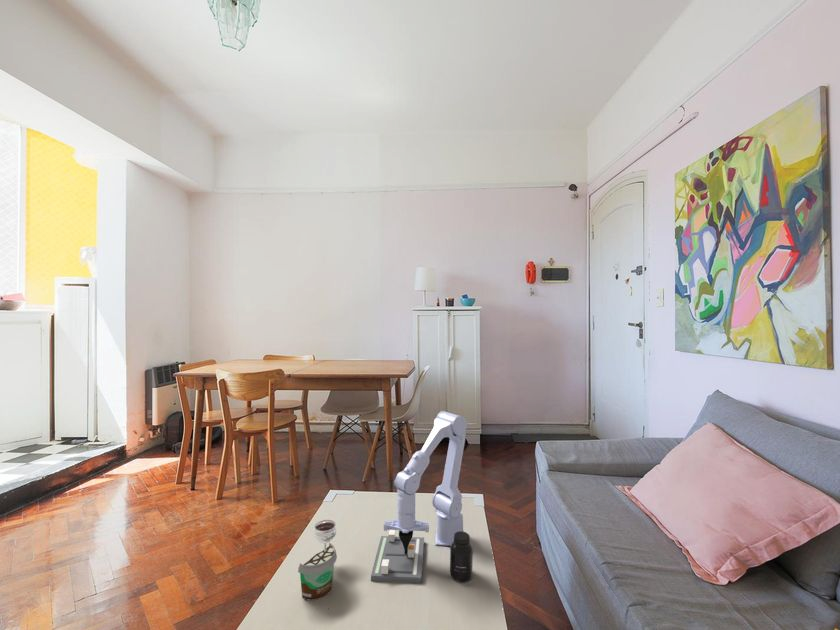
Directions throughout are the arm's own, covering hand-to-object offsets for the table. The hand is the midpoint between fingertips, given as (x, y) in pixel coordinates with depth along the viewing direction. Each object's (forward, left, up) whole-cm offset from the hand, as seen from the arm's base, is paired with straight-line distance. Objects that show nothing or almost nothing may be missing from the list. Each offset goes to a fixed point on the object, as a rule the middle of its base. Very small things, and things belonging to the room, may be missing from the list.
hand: (406, 552), depth 120 cm
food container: (+23, +15, -3) cm, 27 cm away
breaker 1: (+6, +8, -1) cm, 10 cm away
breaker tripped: (-2, 0, -1) cm, 2 cm away
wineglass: (+26, +3, -3) cm, 26 cm away
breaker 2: (+6, -8, -1) cm, 10 cm away
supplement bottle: (-17, +6, -3) cm, 18 cm away
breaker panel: (+2, 0, -2) cm, 3 cm away
